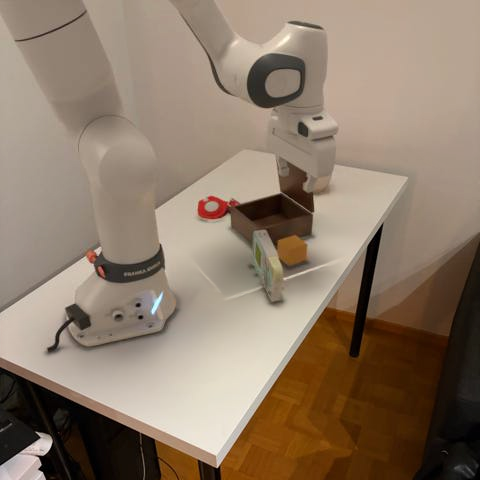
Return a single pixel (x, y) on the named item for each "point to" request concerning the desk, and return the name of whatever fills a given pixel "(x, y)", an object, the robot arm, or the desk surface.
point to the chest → (271, 218)
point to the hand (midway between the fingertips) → (295, 183)
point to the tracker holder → (214, 207)
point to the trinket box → (321, 183)
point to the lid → (296, 187)
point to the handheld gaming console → (267, 264)
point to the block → (292, 250)
